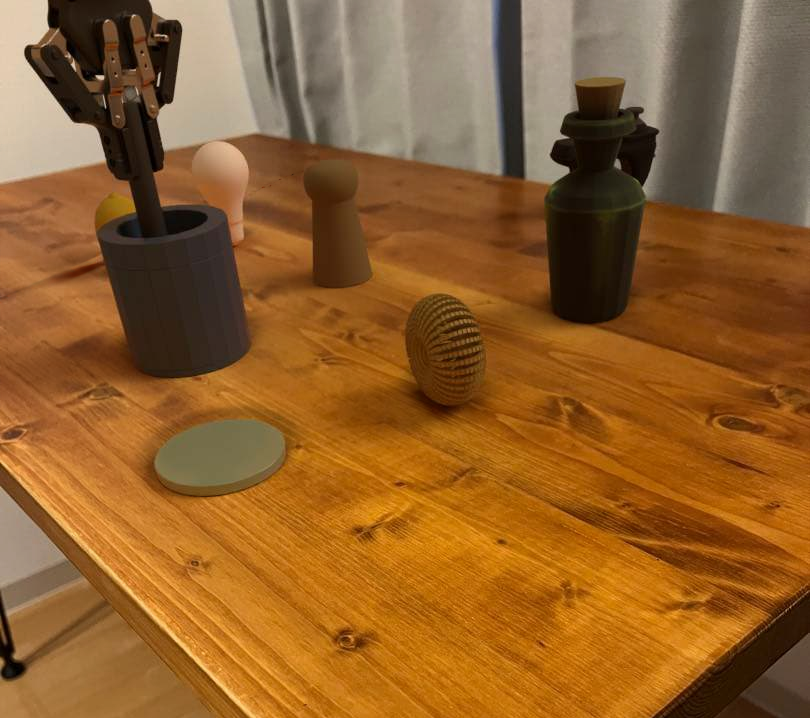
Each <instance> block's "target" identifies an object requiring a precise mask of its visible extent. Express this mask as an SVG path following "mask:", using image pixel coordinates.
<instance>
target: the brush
mask: <svg viewBox="0 0 810 718" xmlns="http://www.w3.org/2000/svg"><path fill="white" fill-rule="evenodd" d="M122 104H123V109H124V115H125V125H124V127H129V130H130V134H131V139H132V143H133V147H134V151H135V155H136V160H137V164H138V168H139V172H140V177H139V178H138V179H136V180H133V181H128V184H129V188H130V192H131V193H130V194H131V197H132V200H133V201H134V205H135V209H136V213H137V217H138V222H139V226H140V230H141V234H142V238H154V237H163V236H168V235H167V231H166V226H165V222H164V217H163V213H162V209H161V207H162V205H161V200H160V196H159V192H158V188H157V183H156V178H155V175H154V172H153V169H152V165H151V160H150V156H149V152H148V147H147V143H146V138H145V134H144V130H143V125H142V121H141V117H140V112H139V108H138V104H137V103H136V102H125V103H123V102H122Z"/></svg>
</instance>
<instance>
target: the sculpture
mask: <svg viewBox="0 0 810 718" xmlns="http://www.w3.org/2000/svg"><path fill="white" fill-rule="evenodd" d="M404 337H405V338H404V339H405V340H404V342H405V352H406V356H407V359H408V365H409V367H410V370H411V373H412V376H413V377H414V380H415V382H416V383H417V385H418V387H419V388H420V389H421V392H422V393H424V395H425V396H426V397H427V398H429V399H430V400H431V401H432V402H434V403H437V404H439V405H442V406H452V407H453V406H457V405H458V406H459V405H462V404H465V403H467V402H468V401H469V400H471V399H472V398H473V397H475V395H476V394H477V392H479V390H480V388H481V386H482V384H483V381H484V377H485V374H486V365H487V364H486V363H487V358H486V349H485V342H483V341H484V338H483V335H482V331H481V328H480V325H479V323H478V322H477V319H476V317H475V316H474V314H473V313H472V311H471V310H470V308H469V307H468V306H467V305H466V304H465V303H464V302H463V301H462V300H461V299H459V298H457V297H455V296H454V295H451V294H447V293H440V292H439V293H433V294H429V295H426V296H424V297H422V298H421V299H420V300H419V301H417V302H416V303H415V305H413V307H412V308H411V310H410V312H409V314H408V317H407V320H406V324H405V332H404ZM447 341H448V342H447Z"/></svg>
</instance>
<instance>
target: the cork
mask: <svg viewBox="0 0 810 718" xmlns="http://www.w3.org/2000/svg"><path fill="white" fill-rule="evenodd" d="M302 182H303V188H304V190H305V193H306V195H307V196H308V198H309V199H310V200H311V223H312V224H311V225H312V226H311V227H312V228H311V230H312V231H311V232H312V233H311V234H312V237H311V238H312V281H313V282H314V284H316V285H317V286H319V287H324V288H333V289H334V288H335V289H336V288H347V287H353V286H357V285H360V284H362V283H365V282H367V281H369V280H370V279H371V278H372V276H373V270H372V265H371V262H370V258H369V253H368V249H367V245H366V241H365V240H366V239H365V236H364V231H363V227H362V224H361V219H360V214H359V210H358V206H357V202H356V197H355V195H356V193H357V192H358V189H359V173H358V171H357V169H356V167H355V166H354V164H353V163H352V162H350V161H348V160H346V159H341V158H340V159H338V158H329V159H323V160H319V161H316V162H314V163H313V162H312V163H311V164H310V165H308V166H307V167H306V169H305V171H304V174H303V181H302Z"/></svg>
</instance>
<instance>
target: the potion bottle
mask: <svg viewBox="0 0 810 718" xmlns="http://www.w3.org/2000/svg"><path fill="white" fill-rule="evenodd" d="M626 82H627V80H626V78H623V77H617V76H597V77H587V78H583V79H579V80H576V81H575V82H574V87H575V97H576V103H577V109H578V110H574V111H571V112H568V113H566V114H565V115H564V117H563V118H562V119H563V120H562V123H561V126H560V129H559V132H560V134H561V136H564V137H567V138H571V139H573V144H574V148H575V153H576V158H577V163H578V168H576V169H574V170H573V171H571V172H570V171H569V172H568V173H567V174H565V175H564V176H562V177H560V178H558V179H557V180H556V181H554V182H553V183H552V184H551V185H550V187H549V189H548V191H547V192H546V195H545V196H544V198H543V201H544V202H543V203H544V215H545V231H546V246H547V261H548V271H549V272H548V275H549V289H550V304H551V308H552V311H553V312H554V313H555V314H556V315H557V316H559V317H561V318H562V319H564V320H568V321H572V322H580V323H599V322H605V321H609V320H614V319H615V318H618V317H619V316H621V315H622V314H623V313H624V312H625V311H626V309H627V307H628V306H629V299H630V295H631V287H632V282H633V275H634V270H635V264H636V258H637V253H638V247H639V240H640V234H641V228H642V223H643V217H644V210H645V204H646V199H647V195H646V194H645V191H644V189H643V187H641V184H640V183H639V182H638V181H637V180H636V179H635V178H633V177H632V176H630V175H628V174H627V173H625V172H623V171H622V170H621V168H618V167H617V166H615V163H616V160H617V159H616V157H617V154H618V151H619V147H620V144H621V141H622V137H624V136H626V135H628V134H630V133H632V132H634V131H635V130H636V129H637V128H636V123H635V119H634V115H633V113H632V112H631V111H629V110H625V109H626V108H620V107H621V103H622V99H623V95H624V91H625V86H626Z"/></svg>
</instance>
